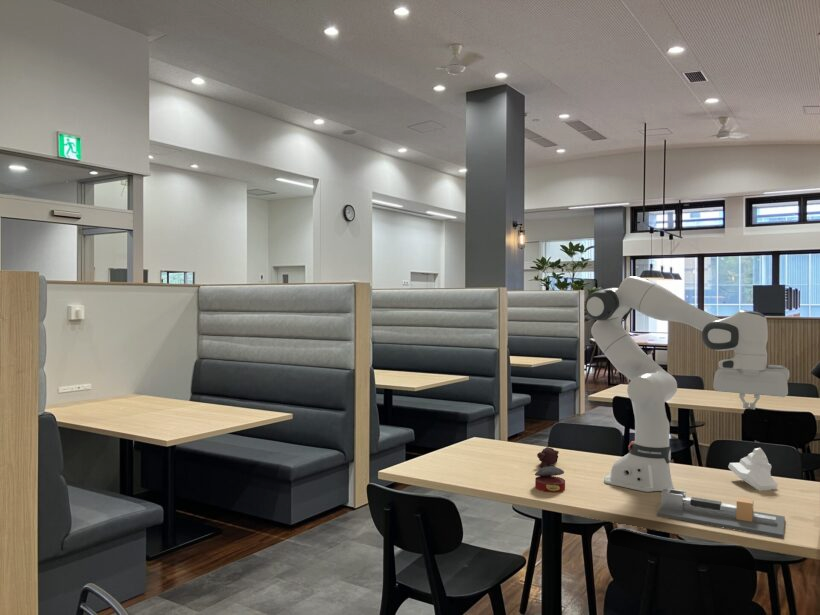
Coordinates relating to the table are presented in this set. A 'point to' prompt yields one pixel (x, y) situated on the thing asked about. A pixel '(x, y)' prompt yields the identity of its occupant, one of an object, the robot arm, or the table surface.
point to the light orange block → (744, 509)
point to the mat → (727, 521)
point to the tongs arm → (709, 504)
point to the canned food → (549, 479)
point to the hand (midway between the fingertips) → (749, 408)
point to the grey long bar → (675, 501)
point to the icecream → (548, 457)
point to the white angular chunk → (755, 470)
